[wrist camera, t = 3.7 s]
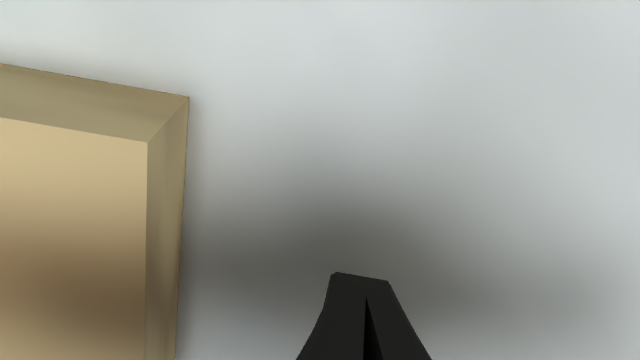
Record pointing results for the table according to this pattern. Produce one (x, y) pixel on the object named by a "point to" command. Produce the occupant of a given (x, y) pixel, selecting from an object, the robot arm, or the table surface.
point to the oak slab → (89, 217)
